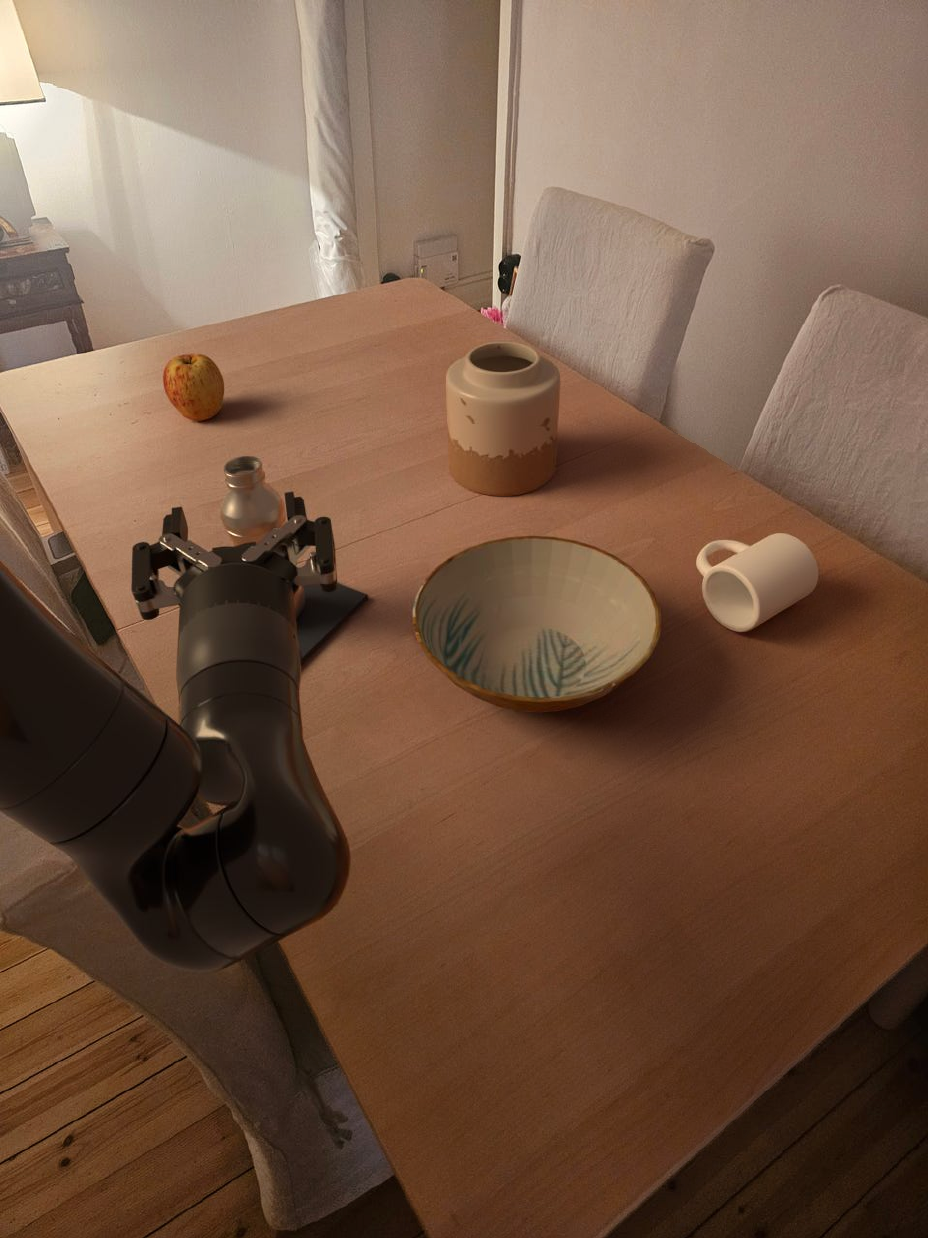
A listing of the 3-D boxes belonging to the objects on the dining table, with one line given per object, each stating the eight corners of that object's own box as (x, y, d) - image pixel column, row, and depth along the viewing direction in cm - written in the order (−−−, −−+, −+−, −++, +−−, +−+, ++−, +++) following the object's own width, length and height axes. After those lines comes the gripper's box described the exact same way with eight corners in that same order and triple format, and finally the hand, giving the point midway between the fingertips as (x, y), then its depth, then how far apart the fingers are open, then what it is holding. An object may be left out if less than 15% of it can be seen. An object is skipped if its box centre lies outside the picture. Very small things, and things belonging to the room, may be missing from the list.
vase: (427, 466, 119) (420, 356, 108) (504, 429, 126) (505, 322, 115) (499, 510, 110) (499, 396, 99) (577, 468, 117) (586, 357, 106)
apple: (196, 397, 136) (180, 339, 130) (242, 406, 134) (229, 347, 127) (162, 423, 130) (144, 364, 124) (210, 433, 128) (194, 372, 121)
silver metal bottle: (317, 619, 94) (287, 468, 80) (262, 642, 91) (222, 491, 78) (294, 589, 98) (261, 441, 84) (240, 611, 95) (198, 461, 82)
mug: (808, 609, 94) (827, 554, 89) (750, 646, 90) (766, 590, 84) (727, 558, 101) (740, 504, 96) (670, 589, 97) (680, 535, 92)
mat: (280, 685, 87) (279, 680, 87) (185, 641, 93) (183, 636, 92) (368, 599, 97) (367, 594, 97) (277, 563, 103) (276, 558, 102)
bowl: (702, 687, 86) (715, 632, 80) (502, 798, 76) (502, 743, 71) (556, 563, 101) (560, 509, 96) (376, 641, 92) (369, 587, 87)
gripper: (342, 588, 51) (320, 454, 63) (105, 625, 49) (127, 480, 61) (356, 672, 56) (332, 534, 68) (141, 708, 54) (155, 559, 66)
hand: (235, 508), depth 64 cm, fingers open, 8 cm apart
